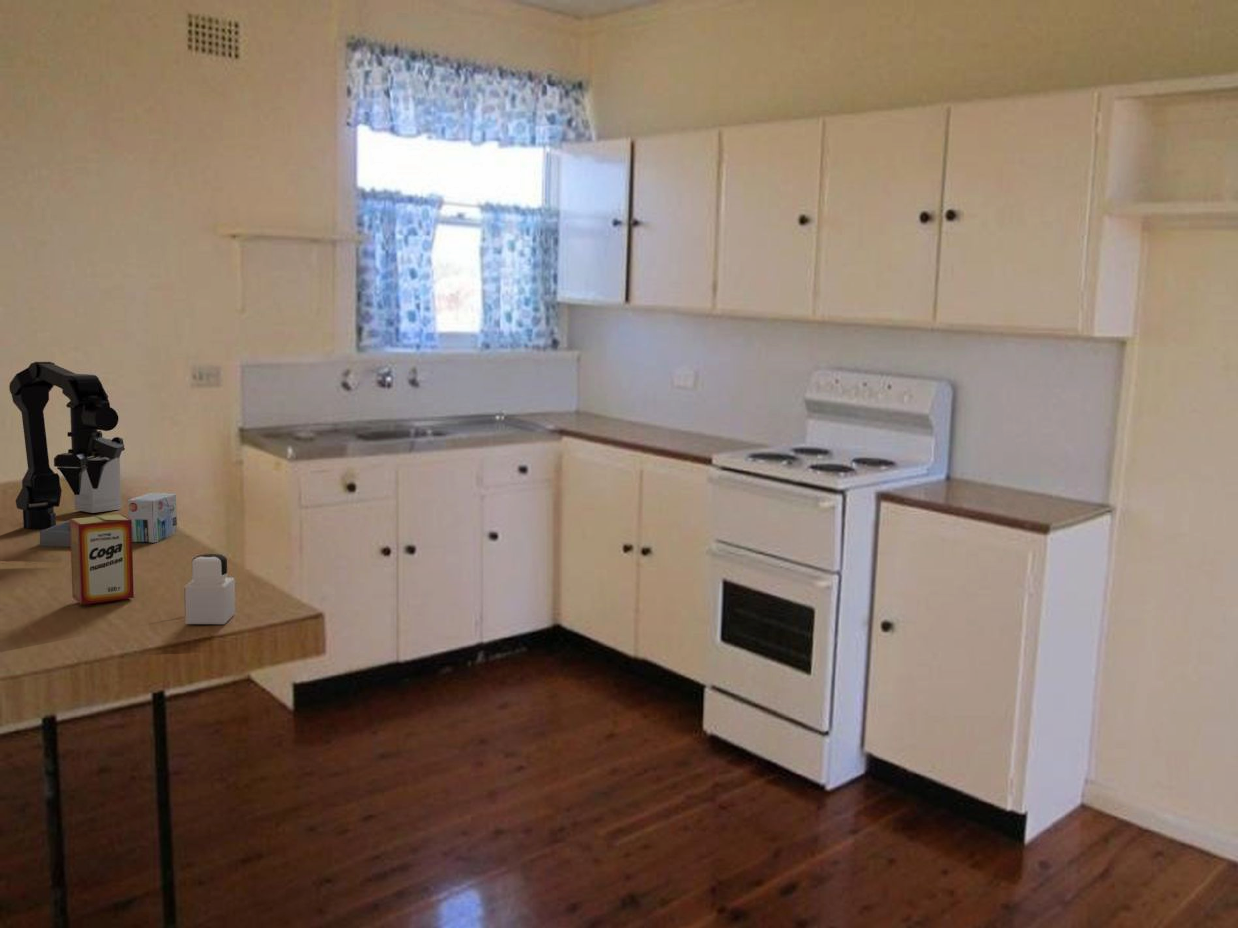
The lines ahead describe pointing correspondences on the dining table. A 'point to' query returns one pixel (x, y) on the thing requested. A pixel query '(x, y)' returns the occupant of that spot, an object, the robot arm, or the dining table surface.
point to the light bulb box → (153, 517)
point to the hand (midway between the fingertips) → (86, 491)
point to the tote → (56, 535)
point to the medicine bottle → (209, 591)
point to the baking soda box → (101, 558)
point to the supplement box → (101, 491)
